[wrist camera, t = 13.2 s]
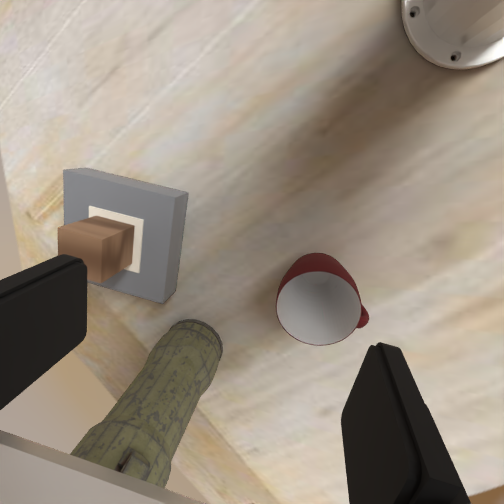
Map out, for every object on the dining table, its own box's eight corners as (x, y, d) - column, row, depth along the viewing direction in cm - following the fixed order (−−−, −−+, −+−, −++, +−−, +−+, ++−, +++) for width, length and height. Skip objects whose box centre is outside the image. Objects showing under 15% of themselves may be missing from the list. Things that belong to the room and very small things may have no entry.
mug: (381, 267, 37) (405, 307, 27) (346, 318, 39) (357, 370, 30) (302, 228, 37) (298, 255, 28) (273, 282, 40) (261, 322, 30)
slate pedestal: (86, 167, 40) (62, 169, 36) (188, 192, 38) (174, 197, 34) (85, 265, 44) (63, 276, 40) (175, 290, 43) (162, 304, 39)
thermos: (240, 335, 43) (21, 901, 11) (200, 385, 48) (-43, 897, 15) (188, 299, 43) (-198, 770, 10) (153, 353, 47) (-199, 804, 15)
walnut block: (96, 215, 37) (57, 227, 31) (134, 225, 36) (102, 239, 31) (95, 253, 38) (58, 271, 33) (132, 263, 38) (100, 283, 32)
